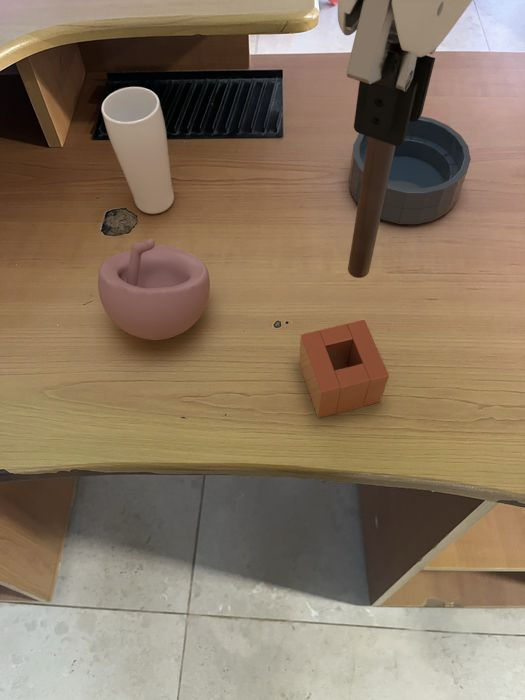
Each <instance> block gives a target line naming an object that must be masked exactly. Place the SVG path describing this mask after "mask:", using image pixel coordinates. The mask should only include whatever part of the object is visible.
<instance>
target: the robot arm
mask: <svg viewBox="0 0 525 700" xmlns="http://www.w3.org/2000/svg"><path fill="white" fill-rule="evenodd" d="M472 2H473V0H337V22H338V25H339V29H340V30H341V32H342V33H343V35H344V36H352V34H354V33H355V34H354V35H355V36H354V40H353V43H352V48H351V51H350V56H349V60H348V64H347V69H346V77H347V78H349V79H352V80H355V81H359V83H358V90H357V97H356V98H357V99H356V106H355V114H354V122H353V129H354V131H355V133H357V134H359V133H360V134H363V135H365V136H368V137H371V138H374V139H377V140H380V141H383V142H386V143H389V144H392V145H394V146H400V145H401V144H402V142H403V141H404V140H405V138H406V133H407V129H408V124H409V121H411V122H412V121H413V122H415V121H417V120H418V119H419V117H420V116H422V114H423V111H424V107H425V103H426V99H427V95H428V90H429V87H430V86H429V85H430V83H431V82H430V81H431V77H432V75H433V70H434V66H435V61H436V57H434V56H430V55H434V54H435V52H436V50H437V49H438V47H440V46H441V44H442V43H443V41H444V40H445V39H446V37H447V36H448V35H449V33H451V31H452V30H453V28H454V27H455V25H456V24H457V22H458V21H459V20H460V19H461V18H462V16H463V14H464V13H465V11H466V10H467V9H468V8H469V6H470V4H472ZM386 42H389V43H392V44H396V45H399V46H401V48H402V54H401V58H400V56H399V54H398V53H396V52H393V51H389V50H386V49H385V47H386Z"/></svg>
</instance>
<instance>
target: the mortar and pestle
mask: <svg viewBox="0 0 525 700" xmlns="http://www.w3.org/2000/svg"><path fill="white" fill-rule="evenodd" d="M97 275H98V278H97V287H98V289H97V291H98V295H99V300H100V302H101V305H102V307H103V309H104V311H105V313H106V314H107V316H108V317H109V318H110V320H111V321H112V322H113V323H114V325H116V326H117V327H119V329H121V330H122V331H124V332H126V334H127V333H128V334H129V335H131V336H133V337H136V338H140V339H143V340H151V341H158V340H159V341H161V340H167V339H171V338H174V337H176V336H179V335H181V334H183V333H185V332H186V331H187V330H189V329H190V328H192V326H194V325H195V323H197V321H198V320H199V319H200V318H201V316H202V315H203V313H204V311H205V309H206V307H207V304H208V301H209V296H210V289H211V288H210V287H211V281H210V273H209V269H208V267H207V266H206V264H205V263H204V262H203V260H202V259H200V258H199V257H198V256H197V255H194V254H193V253H191V252H189V251H186V250H185V249H183V248H179V247H176V246H172V245H169V244H157V245H156V242H155V240H154V239H153V238H148V239H147V240H145V241H142V242H137V241H136V242H133V243H132V245H131V247H130V249H128V250H125V251H121V252H118V253H115V254H114V255H112V256H110V257H108V258H106V259H105V260H104V261H103V262H102V263H101V265H100V266H99V267H98V274H97Z"/></svg>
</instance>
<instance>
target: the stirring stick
mask: <svg viewBox="0 0 525 700" xmlns="http://www.w3.org/2000/svg"><path fill="white" fill-rule="evenodd" d="M385 49H386V50H389V51H393V52H396V53H398V54H399V56H400V58H401V54H402V48H401V46H399V45H396V44H392V43H389V42H386V47H385ZM394 151H395V146H394V145H392V144H389V143H386V142H383V141H380V140H377V139H374V138H371V137H368V144H367V150H366V156H365V163H364V169H363V175H362V182H361V188H360V194H359V201H358V203H357V208H356V214H355V221H354V227H353V233H352V239H351V244H350V245H351V247H350V253H349V259H348V265H347V272H348V274H349V275H350V276H351V277H353V278H355V279H356V278H357V279H363V278H365V277H366V276H368V274H369V273H370V269H371V265H372V260H373V255H374V250H375V245H376V241H377V238H378V237H377V236H378V231H379V227H380V222H381V219H380V218H381V213H382V208H383V203H384V198H385V194H386V189H387V184H388V179H389V175H390V170H391V165H392V160H393V156H394Z"/></svg>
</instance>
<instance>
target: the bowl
mask: <svg viewBox="0 0 525 700" xmlns="http://www.w3.org/2000/svg"><path fill="white" fill-rule="evenodd" d="M367 144H368V136H365V135H363V134H360V133H357V136H356V138H355V140H354V142H353V145H352V151H351V152H352V153H351V160H350V167H349V175H348V185H349V187H348V188H349V191H350V192H351V195H352V198H353V199H354V201H355V202H356V203H357V204H358V201H359V194H360V188H361V182H362V175H363V169H364V163H365V156H366V150H367ZM471 160H472V159H471V152H470V148H469V145H468V143H467V142H466V141H465V139H464V137H463V136H462V135H461V134H460V133H459V132H458V131H456V130H455V129H453V128H452V127H451V126H450V125H448V124H446V123H443V122H442V121H439V120H437V119H435V118H432V117H428V116H422V115H421V116H420V117H419V119H418V120H417V121H415V122H413V121H412V122H411V121H409V124H408V129H407V133H406V138H405V140H404V141H403V142H402V144H401V145H400V146H395V151H394V156H393V160H392V165H391V170H390V175H389V179H388V184H387V189H386V194H385V198H384V203H383V208H382V213H381V218H380V220H382V221H386V222H390V223H394V224H399V225H420V224H425V223H429V222H433V221H435V220H437V219H439V218H440V217H442V216H444V215H447V214H448V213H449V211H451V209H452V208H453V207H454V206H455V205H456V203H457V201H458V199H459V196H460V193H461V190H462V187H463V185H464V182H465V179H466V176H467V173H468V170H469V167H470V164H471Z"/></svg>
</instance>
